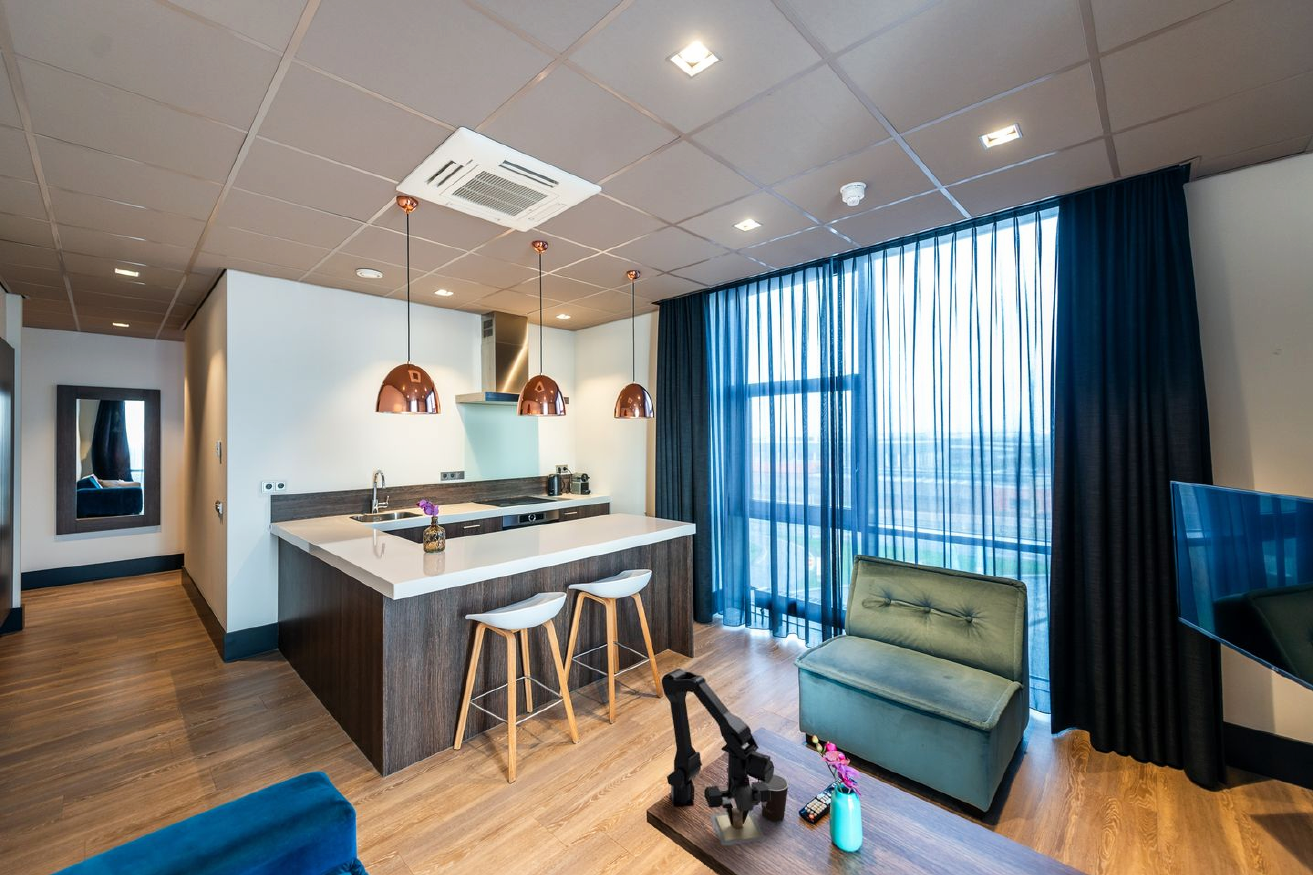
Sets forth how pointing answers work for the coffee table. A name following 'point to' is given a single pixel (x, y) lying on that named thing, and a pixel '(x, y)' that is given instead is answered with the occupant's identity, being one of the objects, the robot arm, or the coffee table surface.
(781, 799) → the coffee mug
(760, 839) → the mat
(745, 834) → the lid
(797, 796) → the coffee table surface
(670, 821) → the coffee table surface
